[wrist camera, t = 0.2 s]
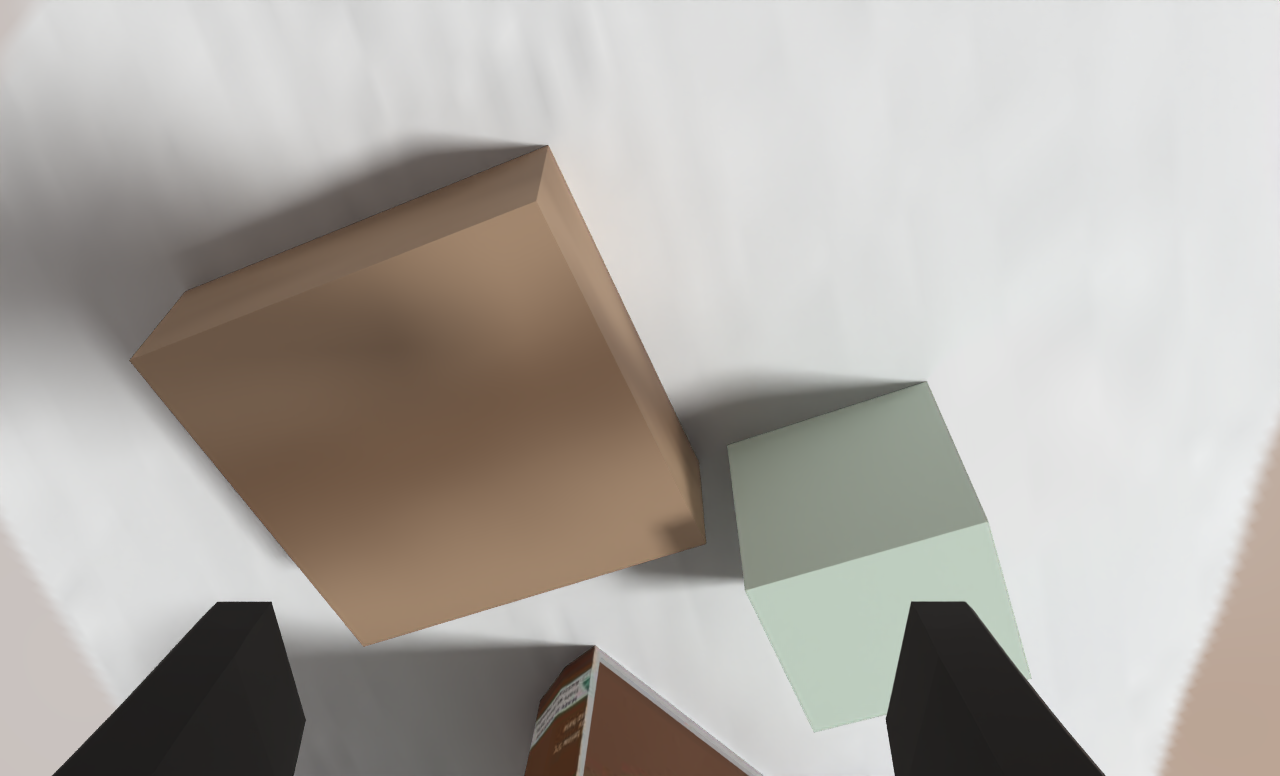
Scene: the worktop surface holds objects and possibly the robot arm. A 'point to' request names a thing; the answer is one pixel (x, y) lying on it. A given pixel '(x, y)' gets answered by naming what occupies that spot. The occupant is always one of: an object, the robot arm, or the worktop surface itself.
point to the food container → (620, 729)
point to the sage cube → (861, 546)
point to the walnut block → (436, 405)
